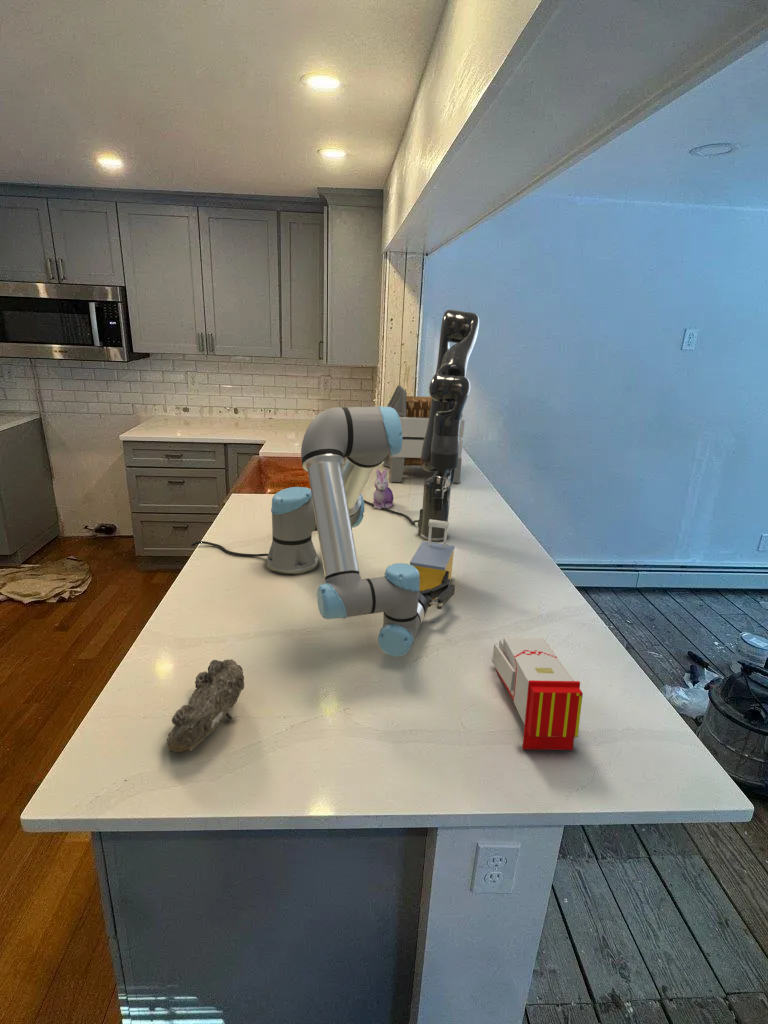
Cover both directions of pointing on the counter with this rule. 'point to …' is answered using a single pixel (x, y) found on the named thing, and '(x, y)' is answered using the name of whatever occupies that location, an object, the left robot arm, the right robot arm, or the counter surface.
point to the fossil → (206, 705)
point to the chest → (433, 575)
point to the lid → (433, 550)
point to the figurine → (382, 491)
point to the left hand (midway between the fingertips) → (428, 572)
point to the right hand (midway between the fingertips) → (440, 506)
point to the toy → (540, 692)
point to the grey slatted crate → (413, 433)
